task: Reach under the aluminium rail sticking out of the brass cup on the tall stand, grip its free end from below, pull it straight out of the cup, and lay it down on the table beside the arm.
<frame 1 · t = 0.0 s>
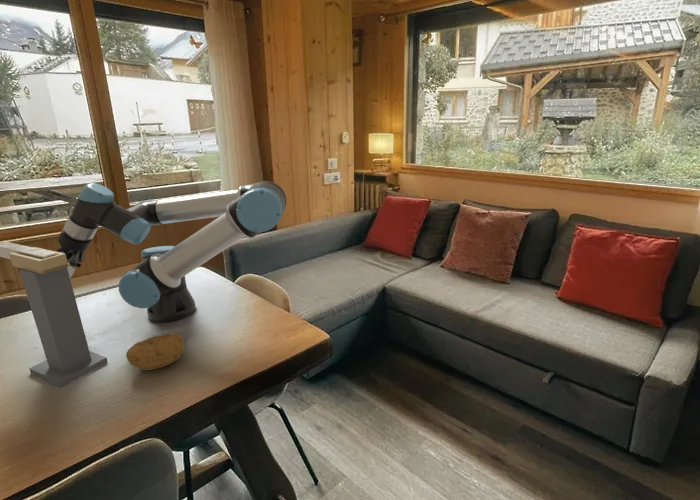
hand: (48, 290, 121), 15 cm above the table, tool tilted 35°, fingers open, 13 cm apart
stand: (69, 367, 110), on the table
potato: (159, 366, 110), on the table
rail: (26, 260, 103), point 30 cm above the table, touching stand
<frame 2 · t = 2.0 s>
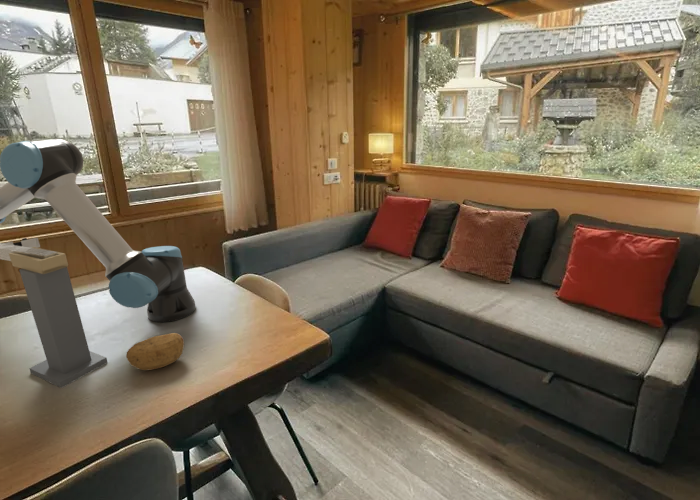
hand: (25, 244, 110), 32 cm above the table, tool horizontal, fingers open, 5 cm apart
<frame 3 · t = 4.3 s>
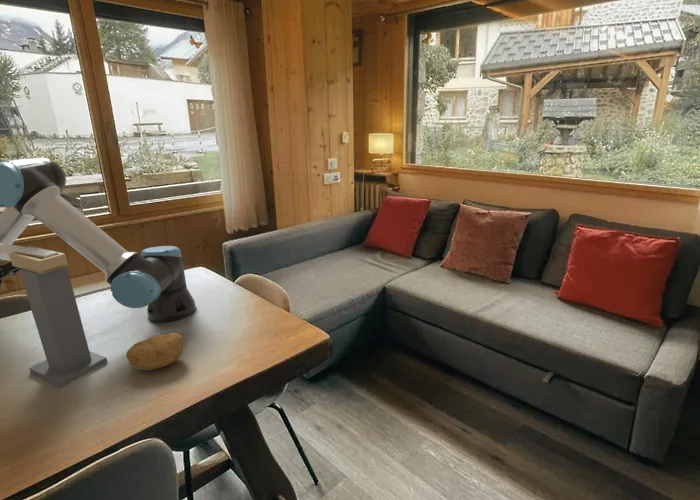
hand: (2, 258, 108), 29 cm above the table, tool pointing upward, fingers open, 13 cm apart
nothing on the table moved.
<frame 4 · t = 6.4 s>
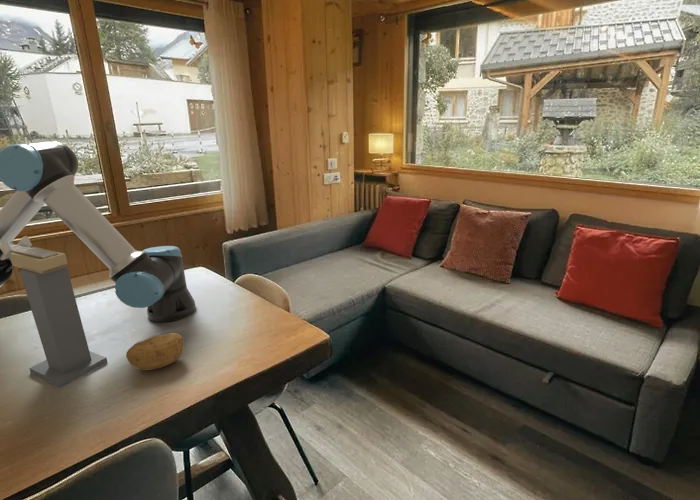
hand: (17, 243, 102), 34 cm above the table, tool pointing upward, fingers open, 4 cm apart
rail: (25, 260, 102), point 30 cm above the table, touching stand, gripper
everything else where it was.
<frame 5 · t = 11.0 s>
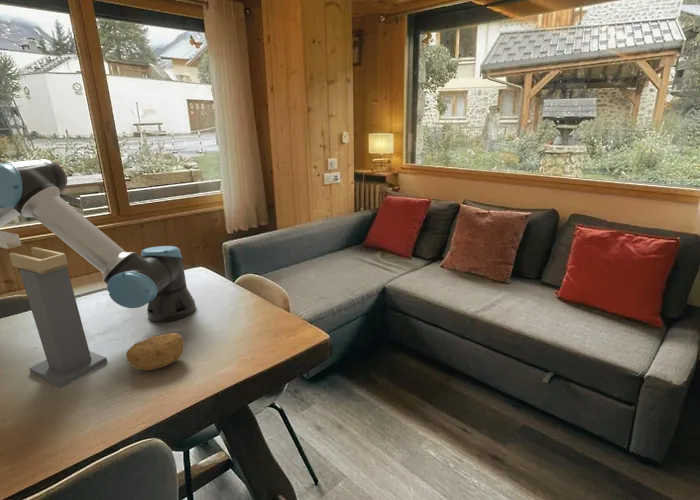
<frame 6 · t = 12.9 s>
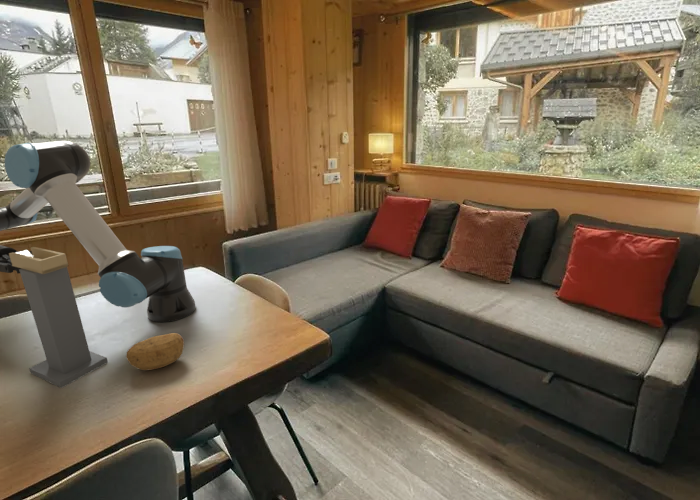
hand: (41, 266, 120), 22 cm above the table, tool horizontal, fingers closed on rail, 3 cm apart
rail: (44, 280, 122), point 18 cm above the table, tilted 29°, touching gripper
everything else where it was.
when the fingers open (12 cm above the table, at t = 15.5 s): rail drops 8 cm, on the table.
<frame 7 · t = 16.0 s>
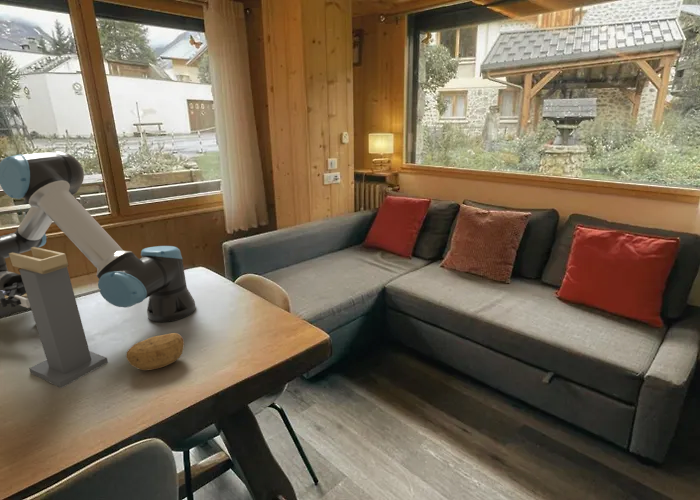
hand: (48, 295, 124), 12 cm above the table, tool horizontal, fingers open, 10 cm apart
rail: (59, 331, 130), on the table
everything else where it was.
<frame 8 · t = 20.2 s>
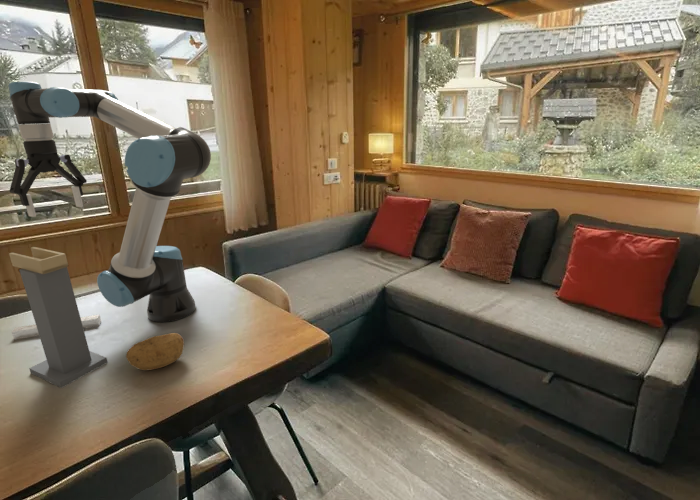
hand: (57, 211, 125), 37 cm above the table, tool pointing down, fingers open, 13 cm apart
at the end: rail inside the target area (2.3 cm from its centre), on the table; the gripper is holding nothing; rail touching table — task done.
